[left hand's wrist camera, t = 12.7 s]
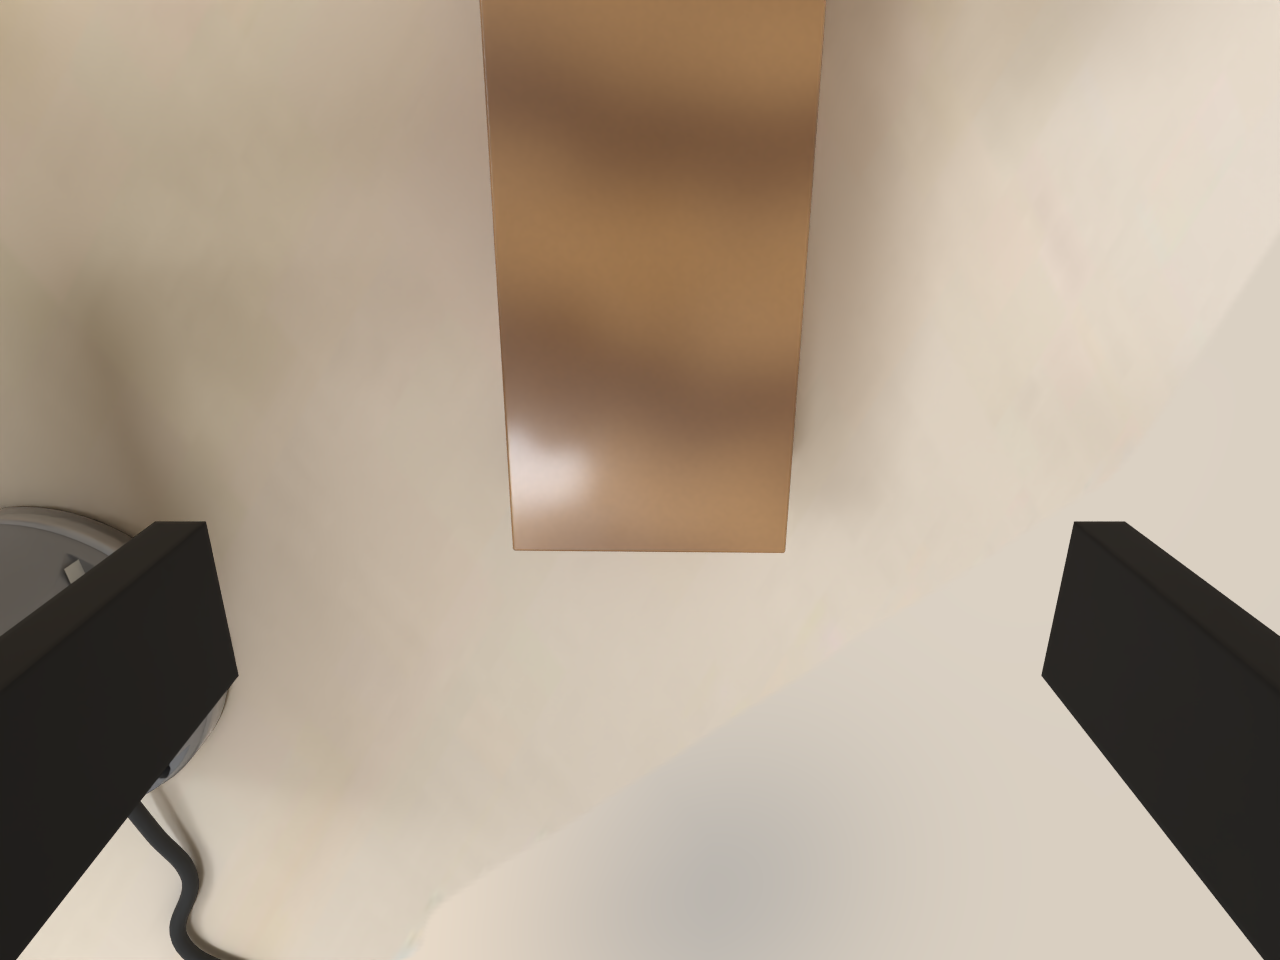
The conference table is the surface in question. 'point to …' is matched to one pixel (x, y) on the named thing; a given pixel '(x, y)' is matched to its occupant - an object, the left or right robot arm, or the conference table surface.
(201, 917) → the conference table surface
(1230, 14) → the conference table surface
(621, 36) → the long beam
